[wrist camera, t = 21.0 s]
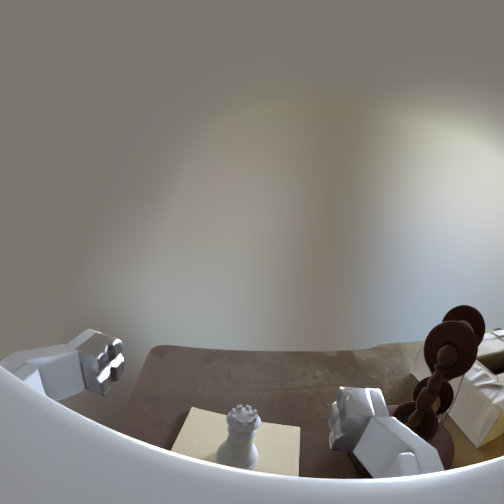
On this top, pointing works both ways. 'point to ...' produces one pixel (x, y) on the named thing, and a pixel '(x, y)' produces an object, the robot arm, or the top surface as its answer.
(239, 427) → the rook chess piece
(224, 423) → the linen mat
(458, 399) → the box
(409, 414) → the scroll
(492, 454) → the top surface
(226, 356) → the top surface
